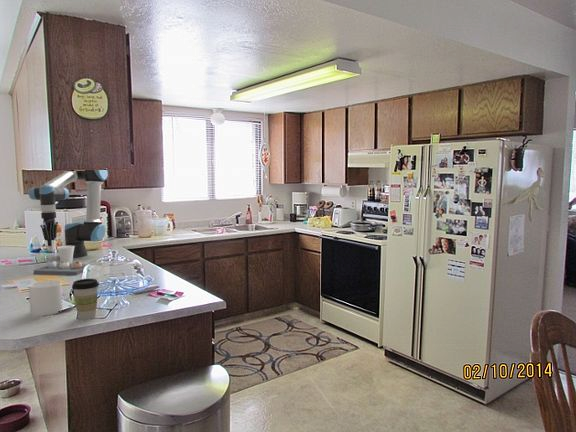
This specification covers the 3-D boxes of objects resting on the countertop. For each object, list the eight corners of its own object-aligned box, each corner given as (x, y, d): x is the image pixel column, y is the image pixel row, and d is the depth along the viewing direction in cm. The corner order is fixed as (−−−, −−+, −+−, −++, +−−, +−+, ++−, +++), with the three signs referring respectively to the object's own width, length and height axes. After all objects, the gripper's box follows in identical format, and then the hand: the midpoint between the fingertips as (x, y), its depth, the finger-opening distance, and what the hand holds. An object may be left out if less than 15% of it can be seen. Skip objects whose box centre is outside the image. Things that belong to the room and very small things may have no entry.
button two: (63, 268, 249) (63, 261, 248) (71, 269, 248) (70, 261, 248) (58, 270, 244) (57, 262, 244) (66, 270, 244) (65, 263, 243)
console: (54, 266, 256) (53, 263, 256) (94, 267, 254) (94, 264, 254) (33, 273, 239) (33, 270, 238) (76, 275, 236) (76, 271, 236)
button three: (76, 269, 248) (75, 261, 248) (83, 269, 248) (83, 261, 247) (71, 271, 243) (70, 263, 243) (79, 271, 243) (78, 263, 242)
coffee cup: (88, 322, 163) (86, 285, 161) (67, 320, 165) (65, 283, 164) (105, 314, 172) (104, 279, 170) (86, 312, 175) (84, 277, 173)
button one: (51, 268, 250) (50, 260, 249) (58, 268, 249) (58, 260, 249) (45, 270, 245) (45, 262, 244) (53, 270, 244) (52, 262, 244)
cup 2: (78, 262, 268) (77, 245, 267) (69, 265, 259) (68, 248, 257) (64, 262, 269) (63, 245, 268) (54, 265, 260) (53, 248, 258)
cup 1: (54, 305, 184) (52, 278, 182) (67, 310, 177) (66, 283, 176) (25, 312, 174) (23, 284, 173) (38, 318, 167) (36, 289, 166)
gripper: (49, 210, 251) (52, 248, 254) (34, 213, 238) (38, 253, 241) (61, 210, 250) (64, 248, 253) (47, 213, 237) (50, 253, 240)
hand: (51, 250), depth 247 cm, fingers closed
